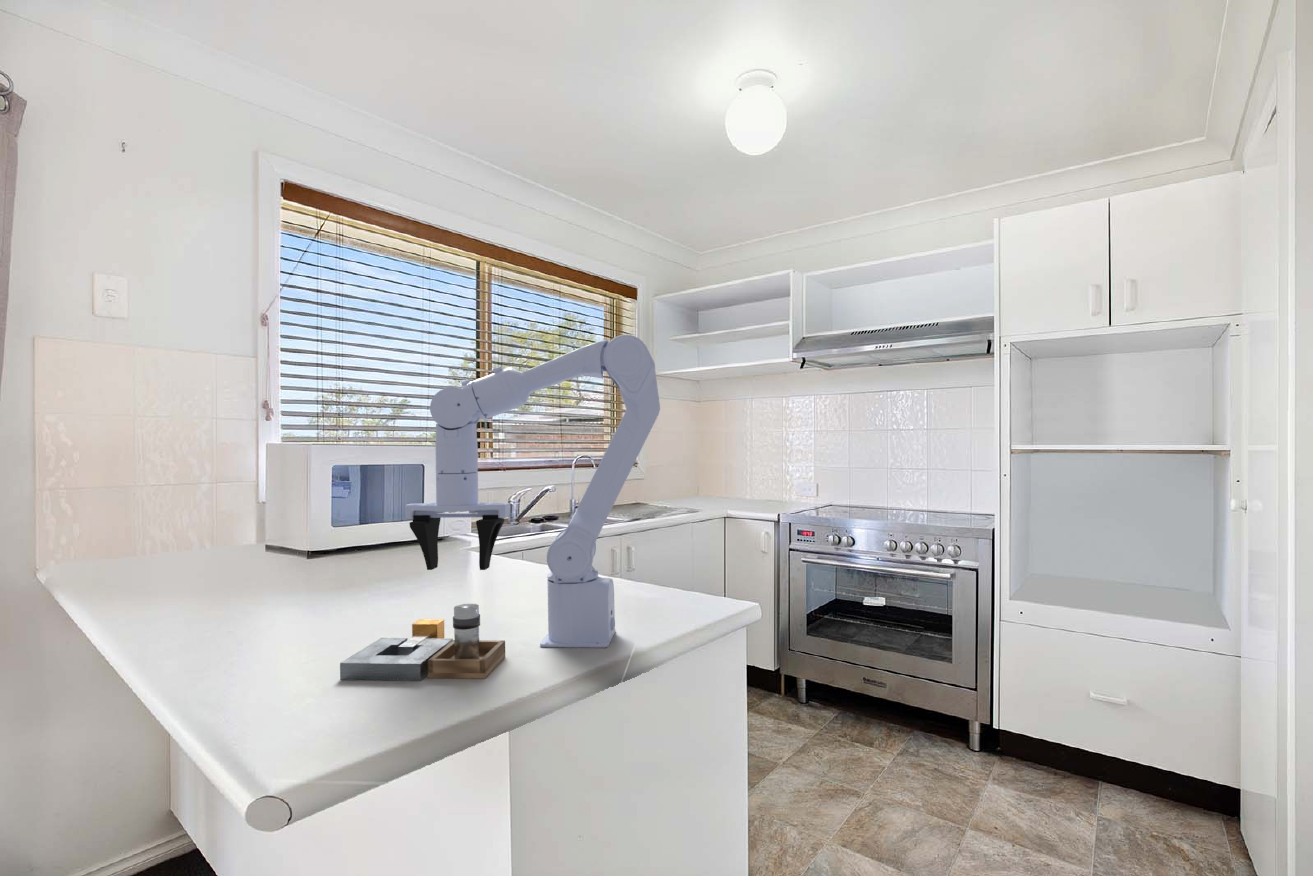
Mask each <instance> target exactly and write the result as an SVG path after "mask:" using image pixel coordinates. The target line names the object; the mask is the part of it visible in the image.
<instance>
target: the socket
mask: <svg viewBox="0 0 1313 876" xmlns="http://www.w3.org/2000/svg"><path fill="white" fill-rule="evenodd" d="M408 638H409V637H408ZM408 638H407V637H406V638H405V637H381V638H379V639H377V640H376V641H373V642H372V643H370V644H369V645H367V646H365V647H364V648H362V649H360V650H359V651H358V652H355V653H354V654H352V655H351V656H349V657H347V658H346V659H344V660H342V661H340V663H339V675H340V676H339V680H343V681H344V680H345V681H346V680H348V681H349V680H350V681H406V682H407V681H411V682H412V681H413V682H416V681H418V682H419V681H420V682H421V681H422V680H424V679H425V677H428V660H429V659H430V658H431V657H433V656H434V655H435V654H437V653H438V652H439V651H440V650H442V649H443V648H444V647H445V646H447V645H448V644H449V643H451V642H452V641H453V640H454V638H446V637H444V638H426V639H425V640H423V641H422V642H420V643H419V644H417V649H416V650H415V651H414V652H412V653H411V654H410V655H408V656H398V646H400V645H401V644H403V643H404V642H406V641H407V640H409V639H408Z"/></svg>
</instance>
